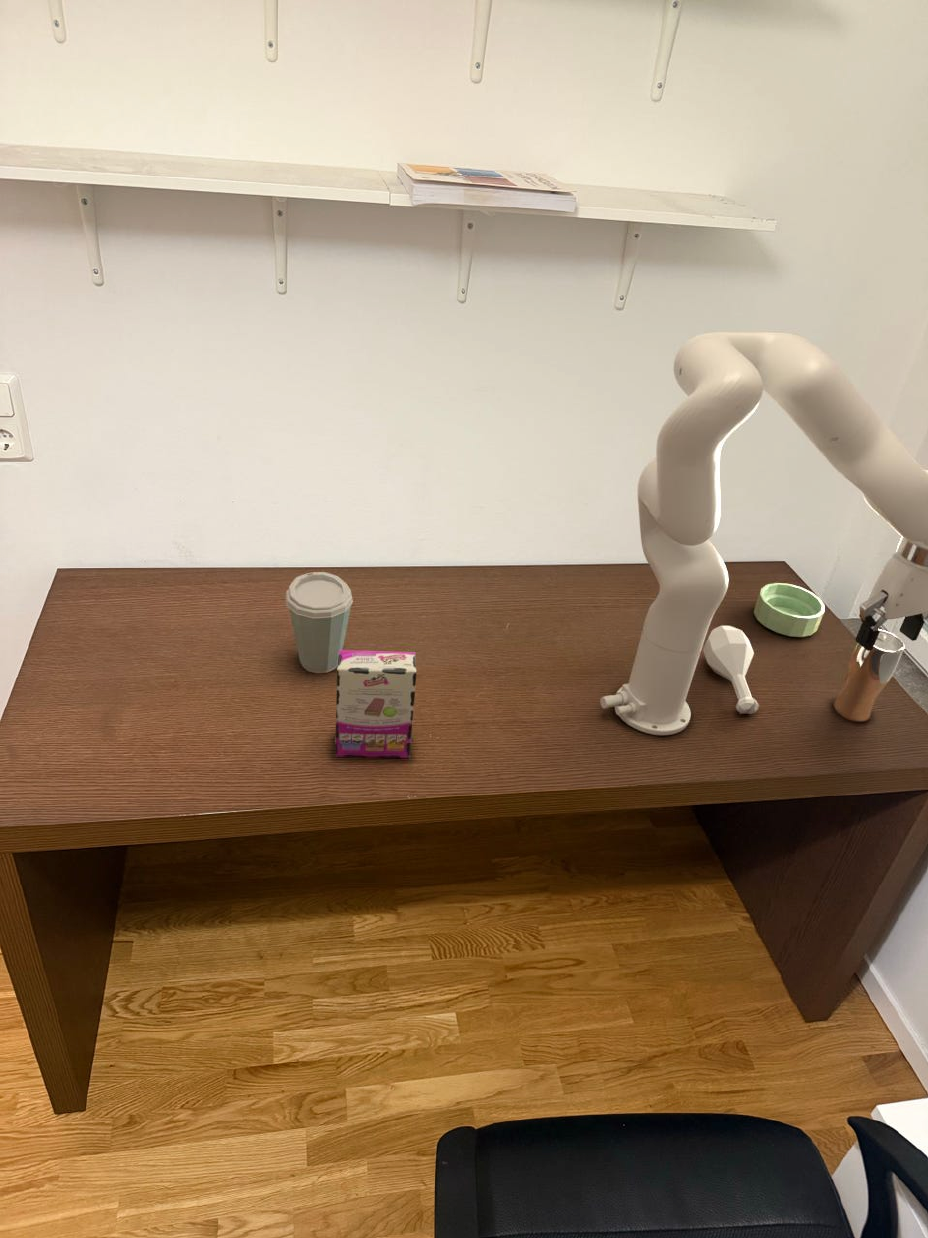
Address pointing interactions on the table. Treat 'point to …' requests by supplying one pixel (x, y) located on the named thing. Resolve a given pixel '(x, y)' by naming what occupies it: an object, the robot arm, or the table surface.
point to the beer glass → (868, 676)
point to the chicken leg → (732, 662)
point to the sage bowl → (789, 609)
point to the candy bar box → (374, 703)
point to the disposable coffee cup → (319, 618)
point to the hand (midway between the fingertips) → (885, 640)
